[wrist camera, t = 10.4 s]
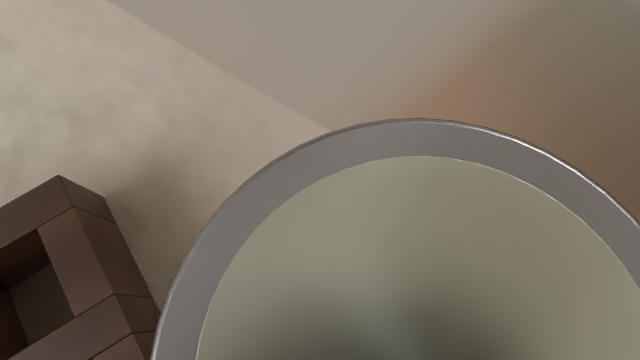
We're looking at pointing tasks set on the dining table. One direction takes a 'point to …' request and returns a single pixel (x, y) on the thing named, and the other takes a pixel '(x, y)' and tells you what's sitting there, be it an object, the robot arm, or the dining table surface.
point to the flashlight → (410, 255)
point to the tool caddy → (74, 276)
